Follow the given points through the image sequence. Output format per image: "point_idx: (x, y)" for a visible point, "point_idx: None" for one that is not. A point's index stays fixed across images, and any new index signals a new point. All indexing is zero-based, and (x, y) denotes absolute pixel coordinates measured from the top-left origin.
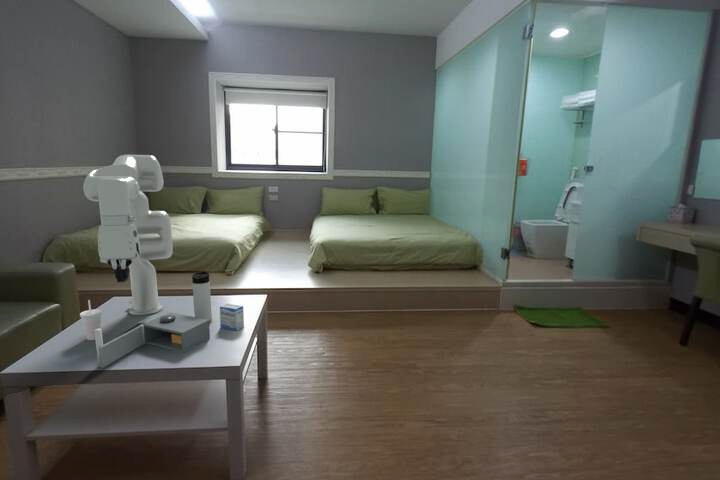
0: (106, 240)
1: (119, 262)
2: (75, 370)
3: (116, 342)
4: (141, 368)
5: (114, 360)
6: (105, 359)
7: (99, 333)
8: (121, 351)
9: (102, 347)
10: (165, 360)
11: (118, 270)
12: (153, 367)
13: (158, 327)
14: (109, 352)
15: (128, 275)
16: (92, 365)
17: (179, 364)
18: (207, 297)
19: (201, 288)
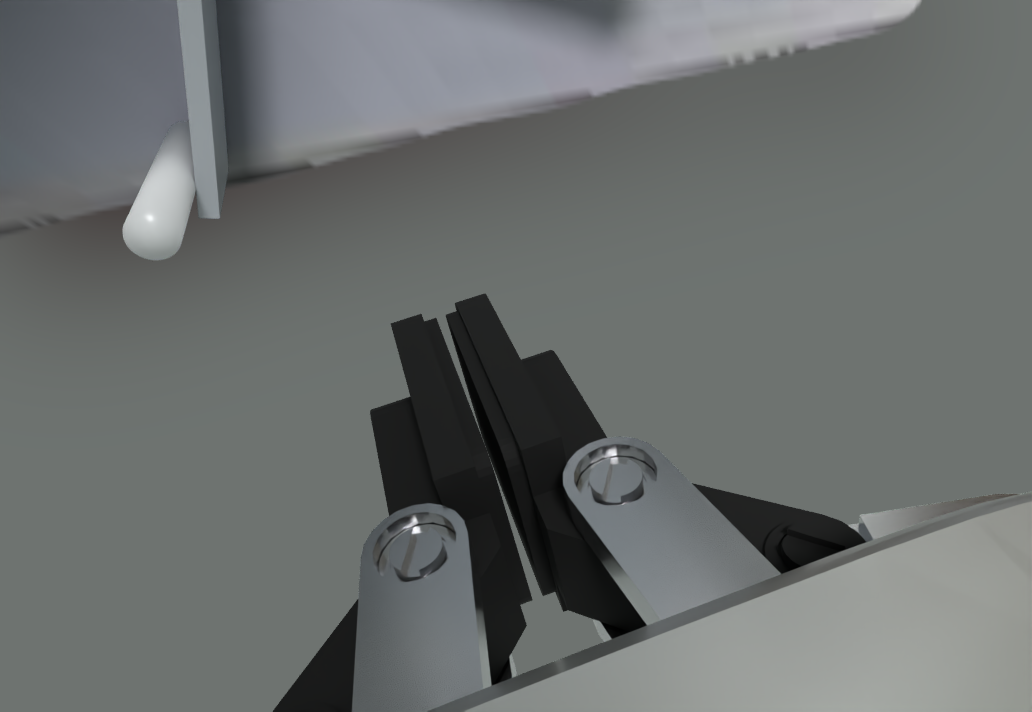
0: None
1: (483, 626)
2: (66, 211)
3: (208, 64)
4: (452, 123)
5: (220, 75)
6: (224, 160)
7: (183, 235)
8: (212, 7)
9: (218, 203)
10: (537, 3)
11: (522, 597)
12: (513, 101)
13: None
14: (218, 129)
15: (557, 358)
16: (111, 138)
17: (641, 43)
18: None
19: None
